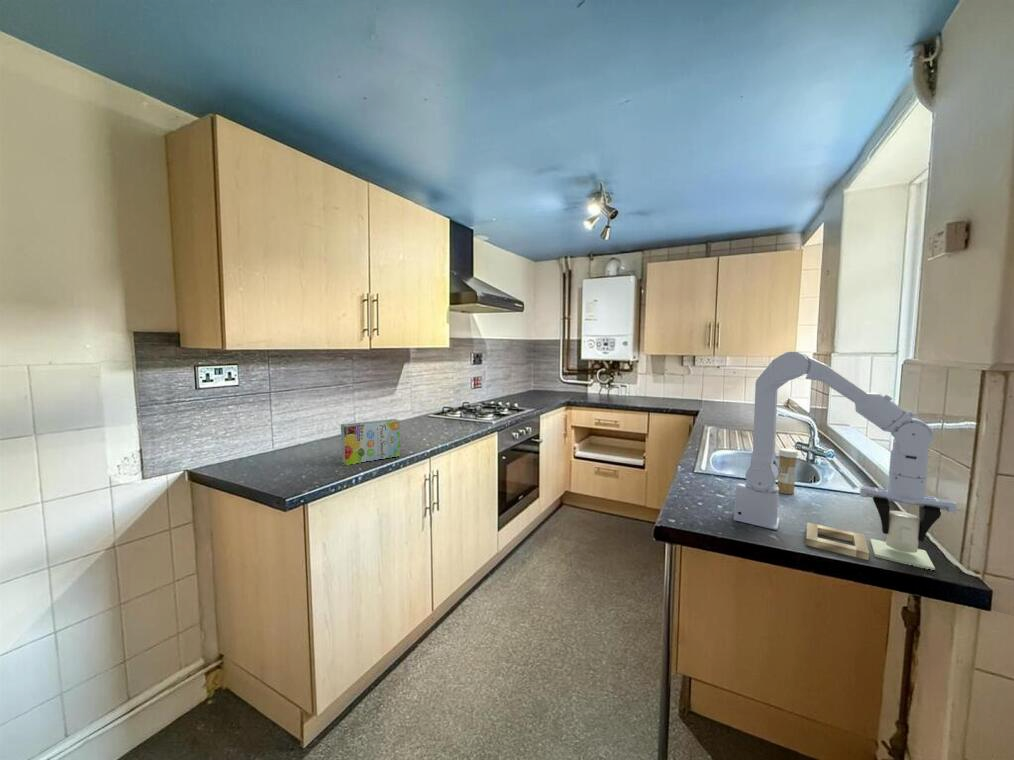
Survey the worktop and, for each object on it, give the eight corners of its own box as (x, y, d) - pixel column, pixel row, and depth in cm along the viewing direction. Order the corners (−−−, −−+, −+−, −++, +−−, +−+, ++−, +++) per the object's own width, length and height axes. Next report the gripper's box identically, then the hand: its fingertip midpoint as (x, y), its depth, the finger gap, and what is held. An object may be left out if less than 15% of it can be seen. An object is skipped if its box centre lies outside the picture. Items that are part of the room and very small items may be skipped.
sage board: (874, 556, 86) (874, 554, 86) (870, 540, 94) (870, 538, 94) (934, 571, 81) (935, 568, 81) (925, 553, 88) (925, 550, 88)
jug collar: (806, 545, 91) (806, 538, 91) (806, 528, 100) (807, 522, 100) (868, 560, 85) (869, 552, 85) (863, 541, 93) (864, 534, 93)
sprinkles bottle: (773, 489, 127) (775, 447, 126) (786, 489, 128) (789, 447, 127) (784, 495, 123) (787, 451, 122) (798, 494, 123) (801, 451, 122)
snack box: (395, 454, 165) (395, 418, 164) (400, 457, 161) (400, 420, 159) (341, 462, 153) (340, 423, 152) (345, 466, 148) (344, 426, 147)
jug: (883, 539, 91) (886, 508, 90) (914, 545, 88) (917, 514, 87) (888, 551, 85) (891, 519, 85) (921, 558, 82) (925, 525, 82)
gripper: (864, 472, 87) (858, 532, 88) (963, 486, 78) (956, 553, 79) (861, 464, 93) (856, 521, 94) (953, 477, 84) (947, 540, 85)
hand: (901, 535), depth 87 cm, fingers closed on jug, 5 cm apart
